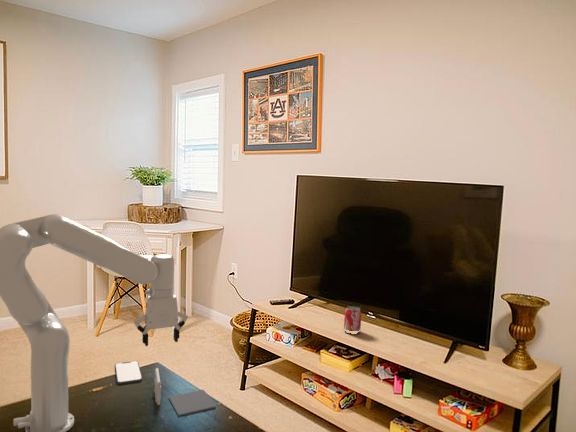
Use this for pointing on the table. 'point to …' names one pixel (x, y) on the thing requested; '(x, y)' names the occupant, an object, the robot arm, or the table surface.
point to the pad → (191, 402)
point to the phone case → (128, 372)
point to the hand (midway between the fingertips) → (161, 342)
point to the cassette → (157, 387)
